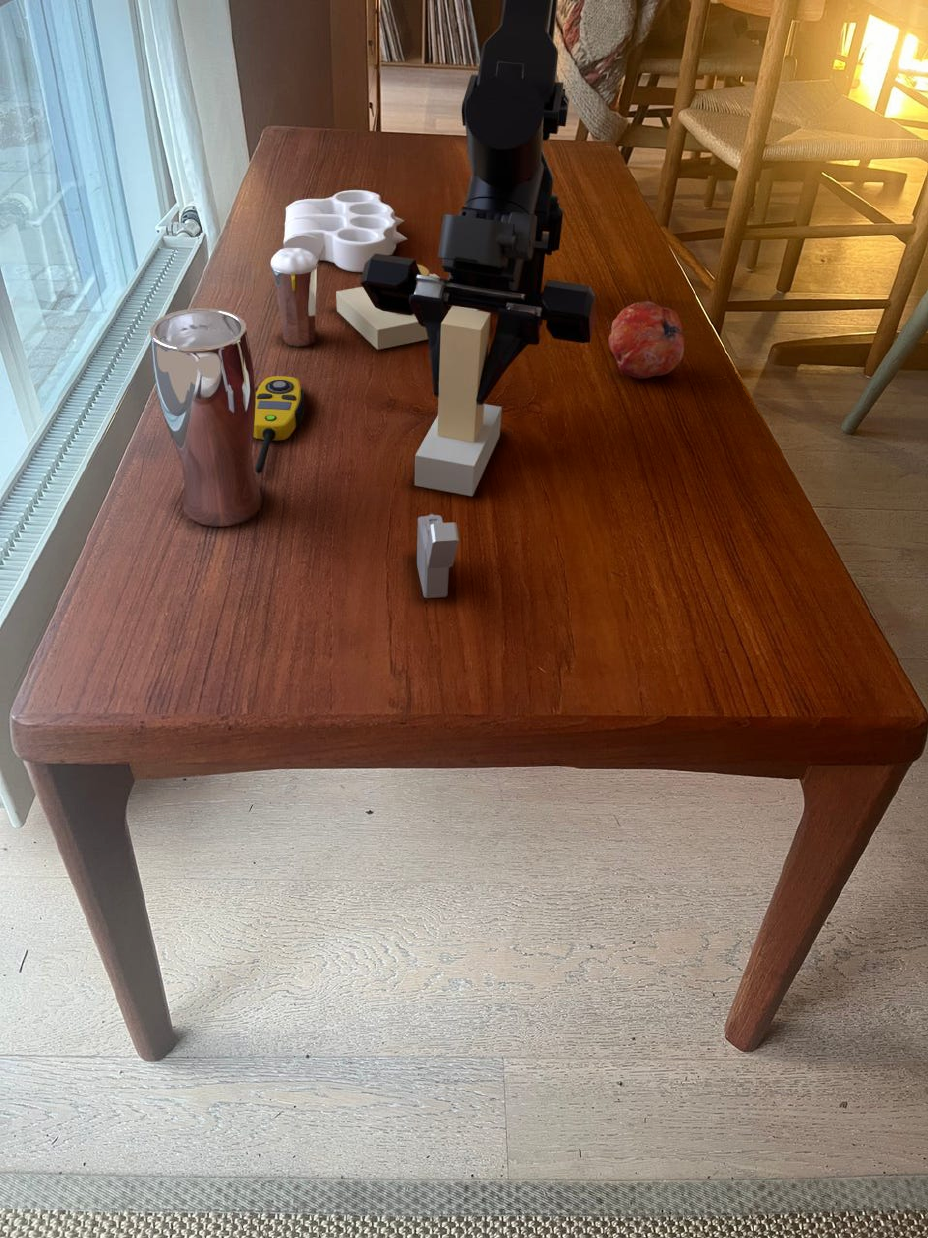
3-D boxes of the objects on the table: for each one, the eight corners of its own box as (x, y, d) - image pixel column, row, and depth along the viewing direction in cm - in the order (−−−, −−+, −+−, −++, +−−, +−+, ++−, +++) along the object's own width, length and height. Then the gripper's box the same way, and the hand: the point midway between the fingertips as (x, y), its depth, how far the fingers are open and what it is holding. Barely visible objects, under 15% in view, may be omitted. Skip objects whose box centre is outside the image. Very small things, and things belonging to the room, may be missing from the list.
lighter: (416, 562, 74) (418, 473, 68) (439, 561, 74) (442, 472, 69) (430, 625, 68) (433, 534, 63) (454, 623, 69) (459, 532, 63)
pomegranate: (589, 387, 100) (638, 369, 91) (586, 314, 100) (634, 288, 90) (653, 387, 102) (707, 369, 93) (650, 316, 102) (704, 291, 92)
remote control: (308, 373, 91) (286, 460, 80) (310, 392, 92) (288, 480, 81) (256, 371, 91) (227, 458, 79) (258, 389, 92) (229, 478, 81)
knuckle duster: (287, 215, 125) (401, 216, 127) (284, 272, 112) (411, 272, 114) (285, 188, 123) (401, 190, 125) (281, 243, 110) (411, 243, 112)
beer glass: (282, 491, 80) (266, 317, 70) (240, 539, 75) (217, 358, 65) (207, 473, 81) (181, 299, 71) (161, 518, 76) (126, 338, 66)
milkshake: (321, 353, 98) (316, 254, 91) (270, 346, 98) (261, 247, 92) (334, 334, 101) (331, 237, 95) (285, 327, 102) (278, 230, 95)
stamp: (499, 436, 88) (511, 297, 79) (472, 496, 81) (482, 350, 72) (446, 426, 89) (452, 287, 80) (414, 485, 81) (417, 339, 73)
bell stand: (434, 292, 110) (435, 257, 108) (479, 328, 104) (481, 292, 101) (336, 310, 105) (335, 274, 103) (377, 349, 99) (377, 312, 96)
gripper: (365, 146, 73) (320, 346, 73) (611, 179, 70) (566, 388, 70) (397, 218, 84) (358, 392, 84) (610, 249, 81) (571, 429, 81)
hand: (457, 399), depth 79 cm, fingers closed on stamp, 3 cm apart
